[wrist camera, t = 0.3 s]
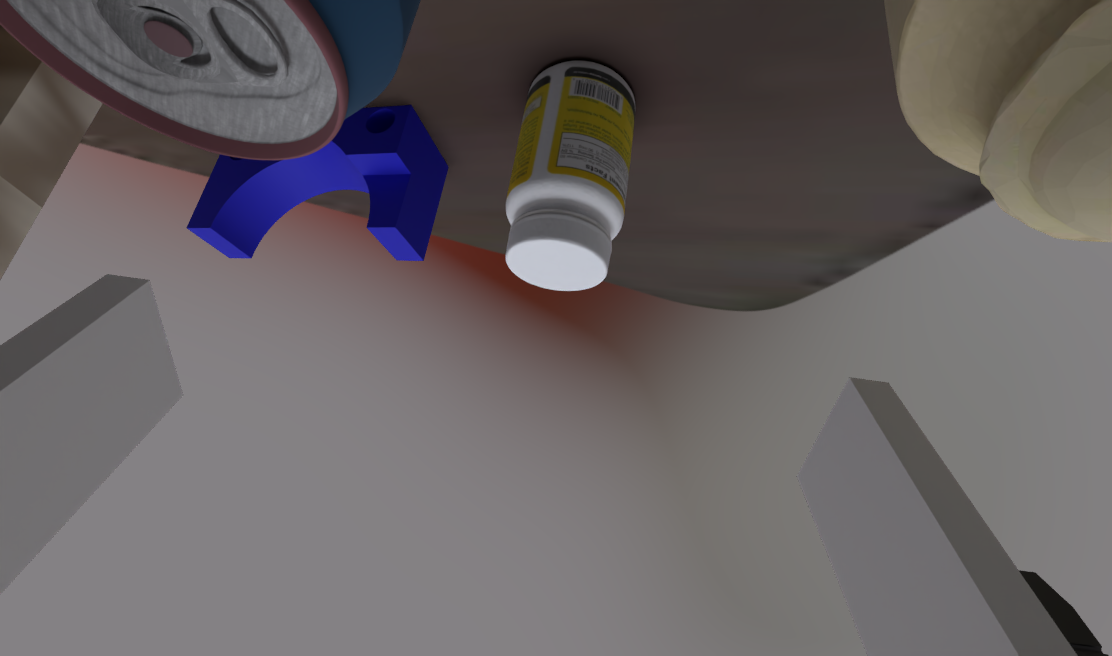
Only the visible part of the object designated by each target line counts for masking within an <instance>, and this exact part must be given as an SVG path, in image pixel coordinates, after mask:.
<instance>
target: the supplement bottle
mask: <svg viewBox="0 0 1112 656" xmlns="http://www.w3.org/2000/svg"><path fill="white" fill-rule="evenodd" d="M634 119H635V99H634V96H633V93H632V91H631V89H630V87H629V86H628V84H627V83H626V82H625V81H624V79H623V78H622V77H621V76H619V75H618V74H617V73H616V72H614V71H613V70H611V69H610V68H608V67H606V66H603V65H601V64H598V63H594V62H589V61H567V62H562V63H559V64H556V65H554V66H552V67H549V68H548V69H546V70H544V71H543V72H542V73H540V74H539V75H538V76H537V77H536V79H535V80H534V81H533V83H532V85H531V87H530V90H529V93H528V97H527V102H526V107H525V111H524V116H523V121H522V126H521V131H520V135H519V141H518V146H517V151H516V155H515V160H514V165H513V170H512V175H511V180H510V184H509V189H508V194H507V199H506V213H507V217H508V220H509V222H510V224H511V229H510V233H509V239H508V244H507V250H506V262H507V265H508V266H509V268H510V270H511V271H512V272H513V273H514V274H516V275H517V276H518V277H519V278H521V279H523V280H524V281H526V282H528V283H531V284H533V285H536V286H539V287H543V288H547V289H552V290H560V291H577V290H584V289H588V288H591V287H594V286H596V285H597V284H599V283H600V282H602V281H603V280H604V278H605V277H606V275H607V271H608V265H609V260H610V255H611V251H612V246H611V243H612V241H611V240H613V239H614V238H615V237H616V235H617V234H618V232H619V231H620V229H621V227H622V223H623V218H624V212H625V202H626V193H627V184H628V175H629V166H630V158H631V148H632V139H633V130H634Z"/></svg>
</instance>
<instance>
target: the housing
mask: <svg viewBox="0 0 1112 656" xmlns="http://www.w3.org/2000/svg"><path fill="white" fill-rule="evenodd" d="M101 105H102V102H100V101H98V100H97V99H95V98H93V97H92V96H90V95H89V94H87V93H85V92H84V91H82V90H81V89H79V88H78V87H76V86H75V85H73V84H72V83H70V82H69V81H68V80H66V79H65V78H63V77H62V76H60V75H59V74H58V73H56V72H55V71H54V70H52V69H51V68H50V67H48V66H47V65H46V64H44V63H43V62H42V61H41V60H39V59H38V58H37V57H36V56H34V55H33V54H32V53H31V52H30V51H29V50H27V49H26V48H25V47H24V46H23V45H21V44H20V43H19V42H18V41H17V40H16V39H15V38H14V37H13V36H12V35H10V34H9V33H8V32H7V31H6V30H5V29H4V28H3V27H2V26H1V25H0V280H1V278H2V276H3V274H4V273H5V271H6V269H7V267H8V266H9V264H10V262H11V260H12V259H13V257H14V255H15V254H16V252H17V250H18V248H19V247H20V245H21V243H22V242H23V240H24V238H25V236H26V234H27V233H28V231H29V230H30V228H31V226H32V224H33V223H34V221H35V219H36V217H37V216H38V214H39V212H40V210H41V209H42V207H43V205H44V204H45V202H46V200H47V198H48V197H49V195H50V193H51V191H52V190H53V188H54V186H55V185H56V183H57V181H58V179H59V178H60V176H61V174H62V172H63V171H64V169H65V167H66V166H67V164H68V162H69V160H70V159H71V157H72V155H73V153H74V152H75V150H76V148H77V147H78V145H79V143H80V141H81V140H82V138H83V136H84V134H85V133H86V131H87V129H88V127H89V126H90V124H91V122H92V121H93V119H94V117H95V115H96V114H97V112H98V110H99V108H100V107H101Z"/></svg>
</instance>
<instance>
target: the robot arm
mask: <svg viewBox="0 0 1112 656" xmlns="http://www.w3.org/2000/svg"><path fill="white" fill-rule="evenodd" d="M182 396H183V392H182V389H181V386H180V382H179V379H178V375H177V372H176V368H175V365H174V362H173V358H172V355H171V351H170V348H169V345H168V341H167V338H166V334H165V331H164V327H163V324H162V321H161V317H160V314H159V310H158V307H157V303H156V300H155V297H154V293H153V290H152V287H151V283H150V280H145V279H138V278H130V277H123V276H116V275H109V274H108V275H105V276H104V277H102V278H101V279H99V280H98V281H96V282H95V283H93V284H92V285H90V286H89V287H87V288H86V289H84V290H83V291H81V292H80V293H78V294H77V295H75V296H74V297H72V298H71V299H69V300H68V301H66V302H65V303H63V304H62V305H60V306H59V307H57V308H56V309H54V310H53V311H52V312H50V313H48V314H47V315H45V316H44V317H42V318H41V319H39V320H38V321H37V322H35V323H33V324H32V325H30V326H29V327H28V328H26V329H24V330H23V331H21V332H20V333H18V334H17V335H15V336H14V337H12V338H11V339H9V340H8V341H7V342H5V343H3V344H2V345H0V594H1V593H2V592H3V591H4V590H5V589H6V588H7V587H8V586H9V585H10V583H11V582H12V581H13V580H14V579H15V578H16V577H17V576H18V575H19V574H20V572H21V571H22V570H23V569H24V568H25V567H26V566H27V565H28V564H29V563H30V561H32V559H33V558H34V557H35V556H36V555H37V554H38V553H39V552H40V551H41V550H42V549H43V547H44V546H45V545H46V544H47V543H48V542H49V541H50V540H51V539H52V538H53V537H54V535H55V534H56V533H57V532H58V531H59V530H60V529H61V528H62V527H63V526H64V525H65V524H66V522H67V521H68V520H69V519H70V518H71V517H72V516H73V515H74V514H75V513H76V511H77V510H78V509H79V508H80V507H81V506H82V505H83V504H84V503H85V502H86V501H87V500H88V498H89V497H90V496H91V495H92V494H93V493H94V492H95V491H96V490H97V489H98V488H99V486H100V485H101V484H102V483H103V482H104V481H105V480H106V479H107V478H108V477H109V476H110V474H111V473H112V472H113V471H114V470H115V469H116V468H117V467H118V466H119V465H120V464H121V463H122V461H123V460H124V459H125V458H126V457H127V456H128V455H129V454H130V452H132V450H133V449H134V448H135V447H136V446H137V445H138V444H139V443H140V442H141V441H142V440H143V439H144V437H145V436H146V435H147V434H148V433H149V432H150V431H151V430H152V429H153V428H154V427H155V425H156V424H157V423H158V422H159V421H160V420H161V419H162V418H163V417H164V416H165V414H166V413H167V412H168V411H169V410H170V409H171V408H172V407H173V406H174V405H175V404H176V403H177V401H178V400H179V399H180V398H181V397H182ZM797 478H798V481H799V484H800V486H801V489H802V491H803V494H804V496H805V499H806V502H807V504H808V507H809V509H810V512H811V514H812V517H813V519H814V522H815V524H816V527H817V529H818V532H819V534H820V537H821V540H822V542H823V545H824V547H825V550H826V552H827V555H828V557H829V560H830V562H831V565H832V567H833V570H834V573H835V575H836V578H837V580H838V583H839V585H840V588H841V590H842V593H843V595H844V598H845V600H846V603H847V606H848V608H849V611H850V613H851V616H852V618H853V621H854V623H855V626H856V628H857V631H858V633H859V636H860V638H861V641H862V644H863V646H864V649H865V651H866V654H867V656H1108V655H1106V654H1103V653H1102V651H1101V648H1102V646H1101V645H1100V643H1099V642H1098V641H1097V639H1096V638H1095V637H1094V636H1093V634H1092V633H1091V631H1090V630H1089V628H1088V627H1087V626H1086V624H1085V623H1084V622H1083V620H1082V619H1081V618H1080V616H1079V615H1078V614H1077V612H1076V611H1075V609H1074V608H1073V607H1072V606H1071V605H1070V604H1069V603H1068V602H1067V601H1065V600H1064V599H1063V598H1062V597H1061V596H1060V595H1059V594H1058V593H1057V592H1056V591H1055V590H1054V589H1052V588H1051V587H1050V586H1049V585H1048V584H1047V583H1046V582H1045V581H1044V580H1043V579H1041V578H1040V577H1039V576H1038V575H1037V574H1036V573H1034V572H1026V571H1019V570H1018V569H1017V568H1016V566H1015V565H1014V564H1013V562H1012V560H1011V559H1010V558H1009V556H1008V555H1007V553H1006V552H1005V550H1004V549H1003V547H1002V546H1001V544H1000V543H999V542H998V540H997V539H996V537H995V536H994V534H993V533H992V531H991V530H990V529H989V527H988V526H987V524H986V523H985V521H984V520H983V518H982V517H981V516H980V514H979V513H978V511H977V510H976V508H975V507H974V505H973V504H972V503H971V501H970V500H969V498H968V497H967V496H966V494H965V493H964V491H963V490H962V488H961V487H960V485H959V484H958V482H957V481H956V480H955V478H954V477H953V475H952V474H951V472H950V471H949V469H948V468H947V467H946V465H945V464H944V462H943V461H942V459H941V458H940V456H939V455H938V454H937V452H936V451H935V449H934V448H933V446H932V445H931V444H930V442H929V441H928V439H927V438H926V436H925V435H924V433H923V432H922V430H921V429H920V428H919V426H918V425H917V423H916V422H915V420H914V419H913V418H912V416H911V415H910V413H909V412H908V410H907V409H906V407H905V406H904V405H903V403H902V402H901V400H900V399H899V397H898V396H897V394H896V393H895V392H894V390H893V389H892V387H891V386H890V384H889V383H886V382H879V381H872V380H865V379H857V378H850V377H849V379H848V381H847V383H846V385H845V386H844V388H843V390H842V392H841V394H840V396H839V398H838V400H837V402H836V403H835V405H834V407H833V409H832V411H831V413H830V415H829V417H828V418H827V420H826V423H825V424H824V426H823V428H822V430H821V432H820V434H819V436H818V437H817V439H816V441H815V443H814V445H813V447H812V449H811V451H810V452H809V454H808V456H807V458H806V460H805V462H804V464H803V466H802V468H801V470H800V472H799V473H798V475H797Z"/></svg>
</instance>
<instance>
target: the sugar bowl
mask: <svg viewBox="0 0 1112 656" xmlns="http://www.w3.org/2000/svg"><path fill="white" fill-rule="evenodd" d="M884 2H885V11H886V18H887V26H888V33H889V40H890V47H891V54H892V61H893V68H894V74H895V81H896V88H897V94H898V98H899V103H900V107H901V109H902V112H903V114H904V117H905V119H906V122H907V123H908V125H909V126H910V127H911V129H912V130H913V132H914V133H915V134H916V136H917V137H918V139H919V140H920V141H921V142H922V143H923V144H924V145H925V146H926V147H928V148H929V149H930V150H931V151H932V152H933V153H934V154H935V155H937V156H939V157H940V158H942V159H944V160H946V161H947V162H949V163H951V164H953V165H954V166H956V167H958V168H961V169H963V170H966V171H968V172H971V173H974V174H976V175H979V176H980V179H981V183H982V184H983V185H984V186H985V187H986V188H987V189H988V190H989V191H990V192H991V194H992V196H993V197H994V199H995V201H996V202H997V204H998V206H999V207H1000V208H1001V209H1002V210H1003V211H1004V212H1006V213H1008V214H1009V215H1011V216H1013V217H1015V218H1016V219H1018V220H1020V221H1021V222H1023V223H1024V224H1026V225H1027V226H1029V227H1031V228H1033V229H1036V230H1038V231H1040V232H1043V233H1045V234H1047V235H1050V236H1052V237H1054V238H1060V239H1069V240H1078V241H1098V242H1112V0H884Z"/></svg>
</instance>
